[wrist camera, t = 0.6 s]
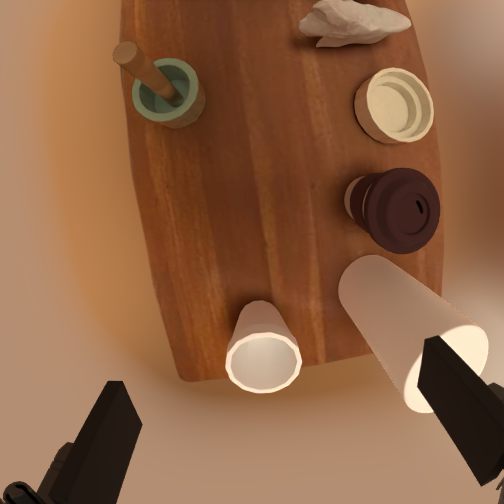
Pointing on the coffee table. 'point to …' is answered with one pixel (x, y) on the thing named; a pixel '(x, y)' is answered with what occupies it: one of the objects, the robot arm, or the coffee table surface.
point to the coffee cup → (395, 208)
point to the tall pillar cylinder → (405, 322)
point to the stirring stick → (146, 72)
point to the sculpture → (351, 23)
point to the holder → (160, 109)
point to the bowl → (394, 107)
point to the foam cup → (262, 350)
